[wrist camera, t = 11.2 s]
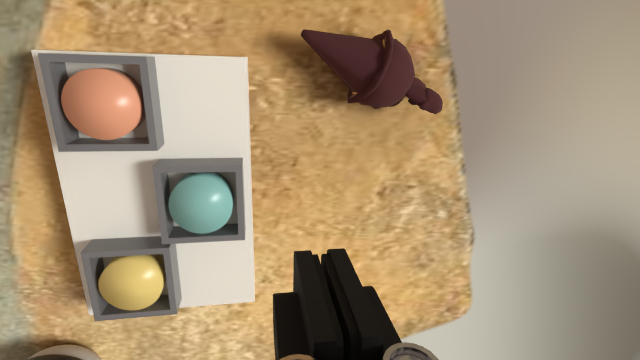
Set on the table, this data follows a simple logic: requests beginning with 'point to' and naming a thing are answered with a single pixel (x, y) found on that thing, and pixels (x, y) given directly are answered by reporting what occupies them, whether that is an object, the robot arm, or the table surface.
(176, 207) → the button teal
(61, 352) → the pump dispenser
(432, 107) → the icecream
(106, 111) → the button terracotta
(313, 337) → the robot arm
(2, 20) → the table surface
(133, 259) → the button ochre
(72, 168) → the button panel
